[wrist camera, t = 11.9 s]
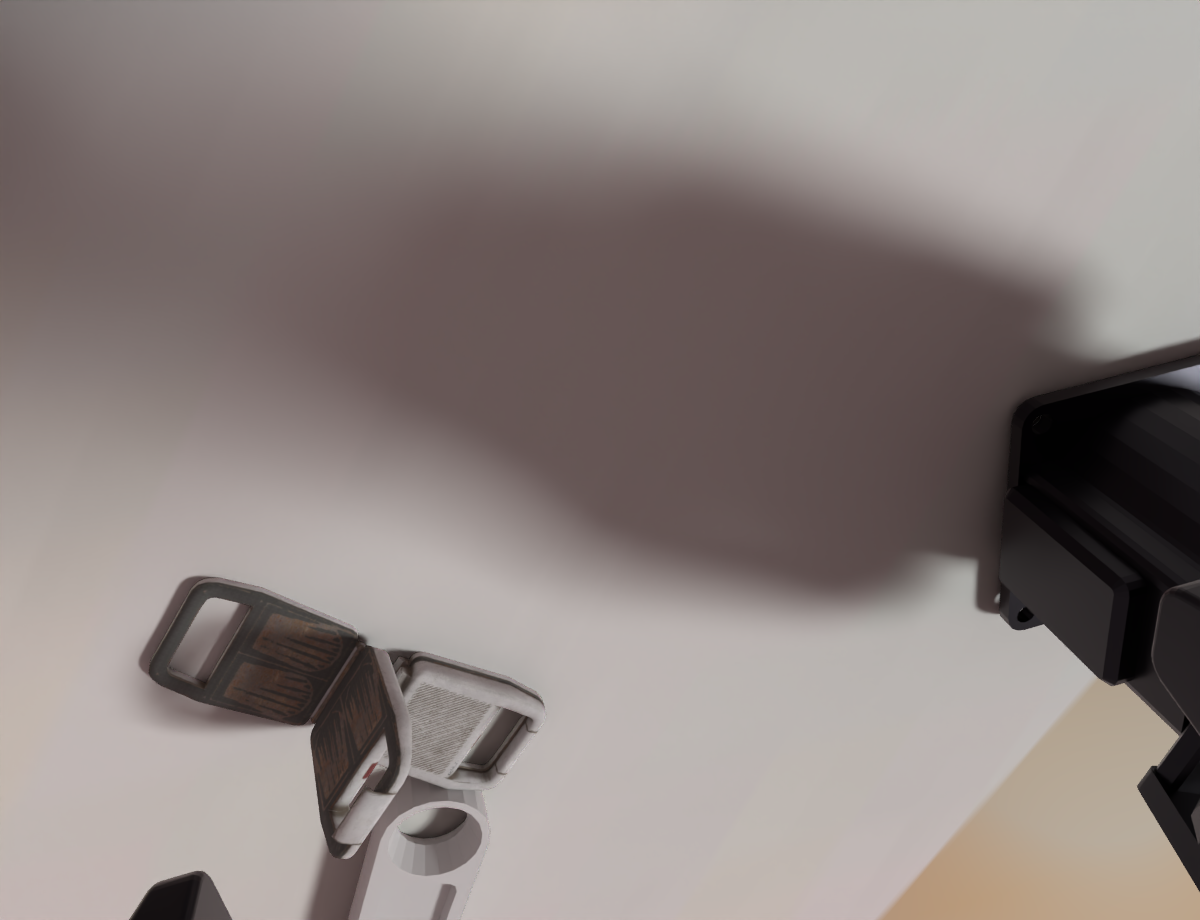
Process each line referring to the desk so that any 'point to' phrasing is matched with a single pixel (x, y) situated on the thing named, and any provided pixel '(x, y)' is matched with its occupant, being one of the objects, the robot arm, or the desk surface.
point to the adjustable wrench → (422, 858)
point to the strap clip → (352, 704)
